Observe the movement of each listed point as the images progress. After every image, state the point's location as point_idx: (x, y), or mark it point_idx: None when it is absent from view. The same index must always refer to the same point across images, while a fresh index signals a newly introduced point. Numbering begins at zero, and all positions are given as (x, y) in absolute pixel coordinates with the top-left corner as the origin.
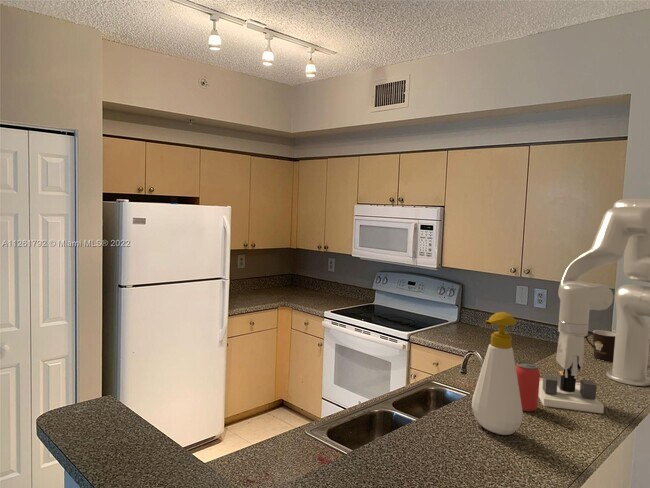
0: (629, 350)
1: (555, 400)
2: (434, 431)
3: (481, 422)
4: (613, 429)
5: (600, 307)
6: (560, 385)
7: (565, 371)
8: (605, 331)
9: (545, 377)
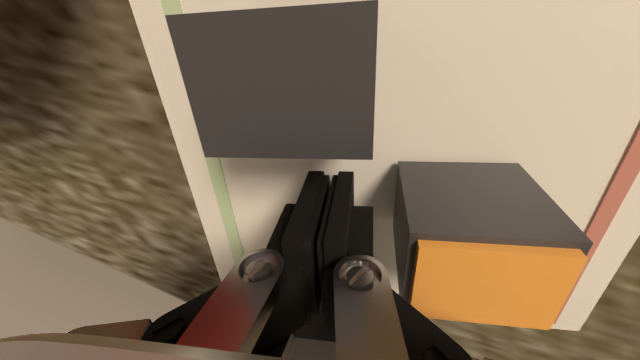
0: None
1: (156, 78)
2: None
3: None
4: (99, 251)
5: None
6: (399, 177)
7: (239, 313)
8: None
9: (249, 17)
